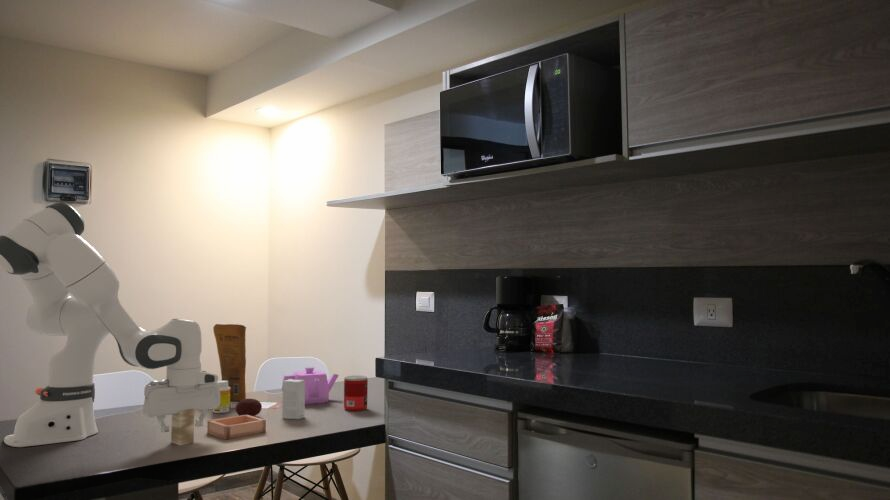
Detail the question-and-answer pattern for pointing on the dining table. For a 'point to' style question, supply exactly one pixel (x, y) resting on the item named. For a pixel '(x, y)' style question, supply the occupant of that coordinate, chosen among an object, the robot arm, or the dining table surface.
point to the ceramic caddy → (236, 426)
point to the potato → (248, 407)
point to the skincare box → (293, 399)
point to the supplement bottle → (223, 398)
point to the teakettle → (314, 384)
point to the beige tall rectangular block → (183, 427)
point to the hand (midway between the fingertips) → (182, 428)
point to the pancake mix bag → (232, 357)
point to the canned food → (355, 393)
